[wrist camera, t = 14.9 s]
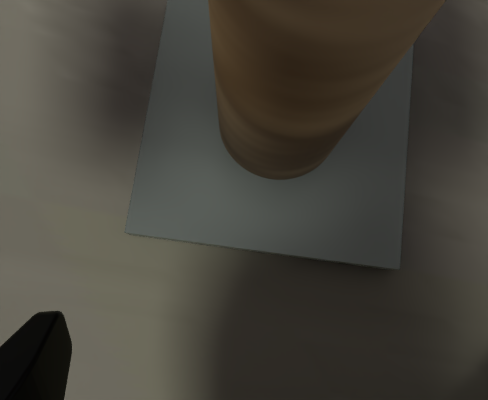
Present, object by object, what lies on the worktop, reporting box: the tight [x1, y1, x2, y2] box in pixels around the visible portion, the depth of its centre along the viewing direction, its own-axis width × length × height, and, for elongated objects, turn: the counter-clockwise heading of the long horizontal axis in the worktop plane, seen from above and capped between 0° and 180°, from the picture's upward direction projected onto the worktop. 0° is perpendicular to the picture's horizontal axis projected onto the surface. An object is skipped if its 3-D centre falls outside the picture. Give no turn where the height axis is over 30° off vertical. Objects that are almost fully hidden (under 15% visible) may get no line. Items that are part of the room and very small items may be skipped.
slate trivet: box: [125, 0, 414, 270], centre depth 18 cm, size 11×11×1 cm
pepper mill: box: [208, 0, 446, 180], centre depth 11 cm, size 5×5×13 cm
